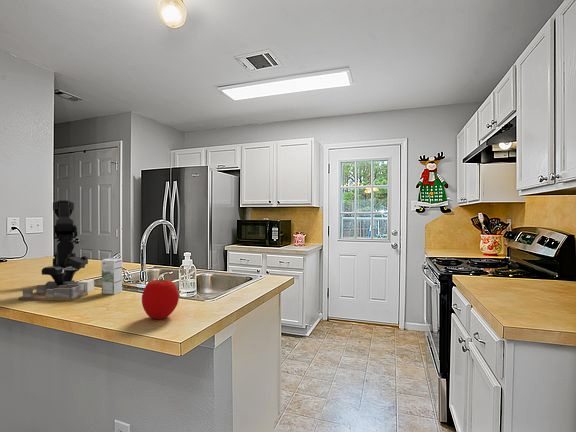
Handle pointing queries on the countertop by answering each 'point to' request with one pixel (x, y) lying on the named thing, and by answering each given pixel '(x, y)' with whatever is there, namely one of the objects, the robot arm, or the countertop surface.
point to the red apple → (160, 298)
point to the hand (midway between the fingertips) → (64, 287)
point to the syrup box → (111, 276)
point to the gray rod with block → (88, 283)
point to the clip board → (55, 293)
